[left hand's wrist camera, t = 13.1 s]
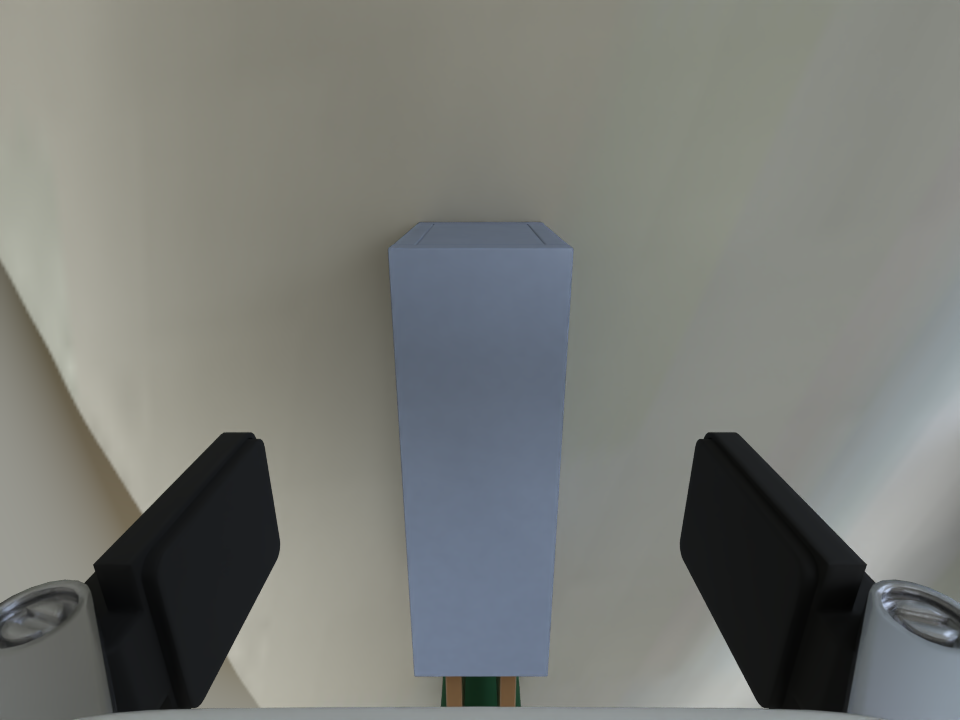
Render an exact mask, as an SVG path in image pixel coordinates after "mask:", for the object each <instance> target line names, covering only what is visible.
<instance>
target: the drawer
mask: <svg viewBox="0 0 960 720" xmlns="http://www.w3.org/2000/svg"><path fill="white" fill-rule="evenodd" d="M441 707H521V702H520V689H519V676H443V685H442V699H441Z"/></svg>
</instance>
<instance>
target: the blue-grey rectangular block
mask: <svg viewBox="0 0 960 720" xmlns="http://www.w3.org/2000/svg"><path fill="white" fill-rule="evenodd" d="M388 258H389V274H390V290H391V307H392V323H393V339H394V355H395V371H396V387H397V403H398V419H399V435H400V451H401V468H402V484H403V500H404V516H405V532H406V548H407V564H408V580H409V596H410V612H411V629H412V645H413V661H414V675H415V676H547V675H548V659H549V642H550V626H551V609H552V593H553V576H554V560H555V543H556V527H557V510H558V494H559V477H560V461H561V444H562V428H563V411H564V395H565V378H566V362H567V345H568V329H569V312H570V296H571V280H572V263H573V248H572V247H571V246H570V245H568V244H567V243H566V242H564V241H563V240H562V239H561V238H560V237H559V236H557V235H556V234H555V233H554V232H553V231H551V230H550V229H549V228H548V227H547V226H546V225H544V223H542V222H419V223H418V224H417V225H415V226H414V227H413V228H412V229H411V230H410V231H408V232H407V233H406V234H405V235H404V236H403V237H401V238H400V239H399V240H398V241H397V242H396V243H394V244H393V245H392V246H390V247H389V248H388Z"/></svg>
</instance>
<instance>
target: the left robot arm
mask: <svg viewBox="0 0 960 720" xmlns="http://www.w3.org/2000/svg"><path fill="white" fill-rule="evenodd" d="M279 551H280V538H279V532H278V526H277V520H276V513H275V507H274V501H273V495H272V489H271V483H270V477H269V471H268V464H267V458H266V452H265V446H264V443H263V441H262V440H261V439H256V437H255V435H254V434H253V433H252V432H226V433H223V434H221V435H220V436H219V437H218V438H217V439H216V440H215V441H214V442H213V443H212V444H211V445H210V446H209V447H208V448H207V449H206V450H205V451H204V452H203V453H202V454H201V455H200V456H199V457H198V458H197V459H196V460H195V461H194V463H193V464H192V465H191V466H190V467H189V468H188V469H187V470H186V471H185V472H184V473H183V474H182V475H181V476H180V477H179V478H178V479H177V480H176V481H175V482H174V483H173V484H172V485H171V486H170V487H169V488H168V489H167V490H166V491H165V492H164V493H163V494H162V495H161V496H160V497H159V498H158V499H157V500H156V501H155V502H154V503H153V504H152V505H151V506H150V507H149V508H148V509H147V510H146V511H145V512H144V513H143V514H142V515H141V516H140V518H139V519H138V520H137V521H136V522H135V523H134V524H133V525H132V526H131V527H130V528H129V529H128V530H127V531H126V532H125V533H124V534H123V535H122V536H121V537H120V538H119V539H118V540H117V541H116V542H115V543H114V544H113V545H112V546H111V547H110V548H109V549H108V550H107V551H106V552H105V553H104V554H103V555H102V556H101V557H100V558H99V559H98V560H97V561H96V562H95V563H94V564H93V566H94V569H95V573H94V574H93V575H92V576H91V577H90V578H89V579H88V580H87V581H86V582H85V583H82V582H80V581H77V580H59V581H53V582H47V583H44V584H41V585H38V586H34V587H31V588H29V589H27V590H24V591H22V592H20V593H18V594H16V595H13V596H11V597H10V598H8V599H7V600H5V601H3V602H2V603H0V720H960V603H958V602H957V601H955V600H953V599H952V598H950V597H949V596H947V595H944V594H942V593H940V592H938V591H936V590H933V589H931V588H929V587H926V586H922V585H919V584H916V583H913V582H907V581H901V580H883V581H880V582H878V583H875V582H874V581H873V580H872V579H871V578H870V577H869V576H868V575H867V574H866V573H865V569H866V566H867V564H866V563H865V562H864V561H863V560H862V559H861V558H860V557H859V556H858V555H857V554H856V553H855V552H854V551H853V550H852V549H851V548H850V547H849V546H848V545H847V544H846V543H845V542H844V541H843V540H842V539H841V538H840V537H839V536H838V535H837V534H836V533H835V532H834V531H833V530H832V529H831V528H830V527H829V526H828V525H827V524H826V523H825V522H824V521H823V520H822V519H821V517H820V516H819V515H818V514H817V513H816V512H815V511H814V510H813V509H812V508H811V507H810V506H809V505H808V504H807V503H806V502H805V501H804V500H803V499H802V498H801V497H800V496H799V495H798V494H797V493H796V492H795V491H794V490H793V489H792V488H791V487H790V486H789V485H788V484H787V483H786V482H785V481H784V480H783V479H782V478H781V477H780V476H779V475H778V474H777V473H776V472H775V471H774V470H773V469H772V468H771V467H770V466H769V465H768V464H767V463H766V461H765V460H764V459H763V458H762V457H761V456H760V455H759V454H758V453H757V452H756V451H755V450H754V449H753V448H752V447H751V446H750V445H749V444H748V443H747V442H746V441H745V440H744V439H743V438H742V437H741V436H740V435H739V434H737V433H734V432H708V433H707V434H706V435H705V437H704V439H699V440H698V441H697V443H696V446H695V452H694V458H693V464H692V471H691V477H690V483H689V489H688V495H687V501H686V507H685V513H684V520H683V526H682V532H681V538H680V551H681V555H682V558H683V561H684V562H685V564H686V566H687V568H688V570H689V572H690V574H691V576H692V578H693V580H694V582H695V584H696V585H697V587H698V589H699V591H700V593H701V595H702V597H703V599H704V601H705V603H706V605H707V606H708V608H709V610H710V612H711V614H712V616H713V618H714V620H715V622H716V624H717V626H718V628H719V629H720V631H721V633H722V635H723V637H724V639H725V641H726V643H727V645H728V647H729V649H730V651H731V652H732V654H733V656H734V658H735V660H736V662H737V664H738V666H739V668H740V670H741V672H742V674H743V675H744V677H745V679H746V681H747V683H748V685H749V687H750V689H751V691H752V693H753V695H754V697H755V698H756V700H757V702H758V703H759V704H760V705H761V706H762V707H764V708H769V709H755V708H632V707H328V708H205V709H191V708H196V707H198V706H199V705H200V704H201V703H202V702H203V700H204V698H205V697H206V695H207V693H208V691H209V689H210V687H211V685H212V683H213V681H214V679H215V677H216V675H217V674H218V672H219V670H220V668H221V666H222V664H223V662H224V660H225V658H226V656H227V654H228V652H229V651H230V649H231V647H232V645H233V643H234V641H235V639H236V637H237V635H238V633H239V631H240V629H241V628H242V626H243V624H244V622H245V620H246V618H247V616H248V614H249V612H250V610H251V608H252V606H253V605H254V603H255V601H256V599H257V597H258V595H259V593H260V591H261V589H262V587H263V585H264V584H265V582H266V580H267V578H268V576H269V574H270V572H271V570H272V568H273V566H274V564H275V562H276V561H277V558H278V555H279Z"/></svg>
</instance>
